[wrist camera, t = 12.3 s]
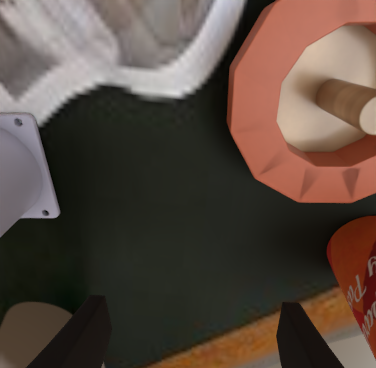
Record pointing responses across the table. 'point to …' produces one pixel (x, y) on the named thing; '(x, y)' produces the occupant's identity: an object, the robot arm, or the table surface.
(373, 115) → the post
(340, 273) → the coffee cup
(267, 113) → the ring
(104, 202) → the table surface
